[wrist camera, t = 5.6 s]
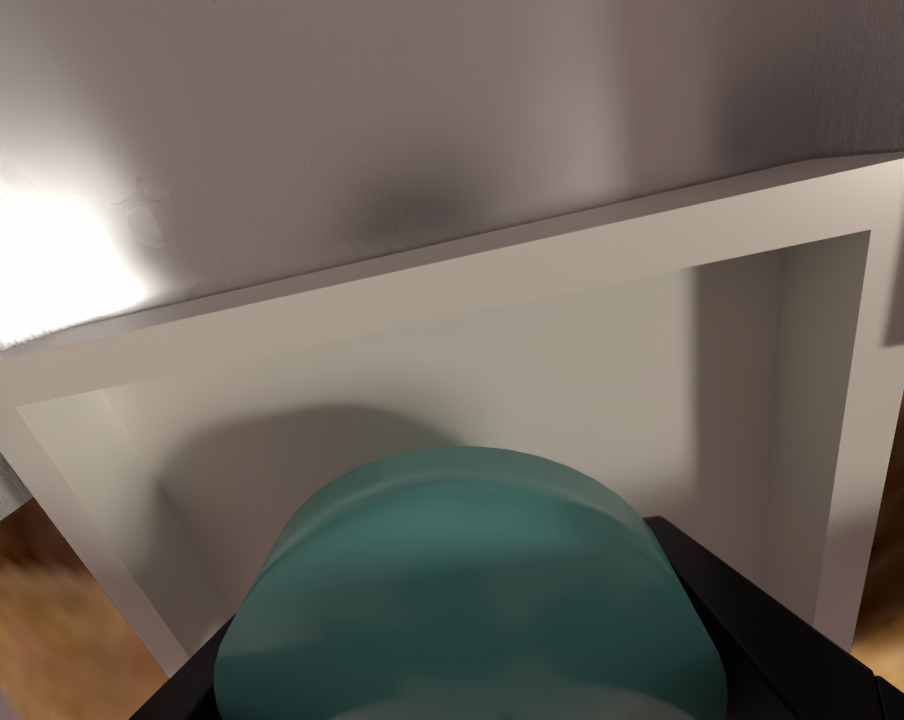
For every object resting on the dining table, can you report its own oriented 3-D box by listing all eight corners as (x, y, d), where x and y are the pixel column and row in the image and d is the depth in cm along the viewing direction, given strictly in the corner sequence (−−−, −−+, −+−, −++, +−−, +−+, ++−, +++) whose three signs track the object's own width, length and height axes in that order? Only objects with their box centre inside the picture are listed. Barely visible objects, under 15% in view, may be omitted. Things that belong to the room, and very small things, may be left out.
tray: (754, 596, 12) (896, 796, 8) (284, 653, 14) (210, 843, 10) (783, 159, 8) (1114, 129, 4) (95, 318, 10) (-176, 412, 6)
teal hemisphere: (665, 407, 6) (736, 484, 4) (676, 714, 8) (722, 830, 7) (196, 487, 6) (115, 576, 5) (339, 745, 9) (314, 854, 8)
